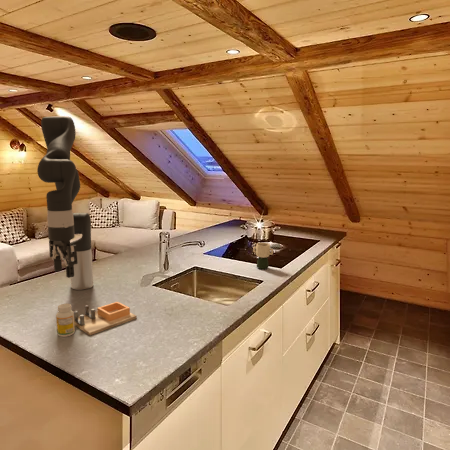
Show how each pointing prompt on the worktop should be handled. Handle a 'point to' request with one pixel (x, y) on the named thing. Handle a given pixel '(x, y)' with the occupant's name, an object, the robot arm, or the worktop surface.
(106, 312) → the box
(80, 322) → the set of grey pegs
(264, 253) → the character mug
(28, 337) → the worktop surface
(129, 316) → the board
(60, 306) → the supplement bottle
